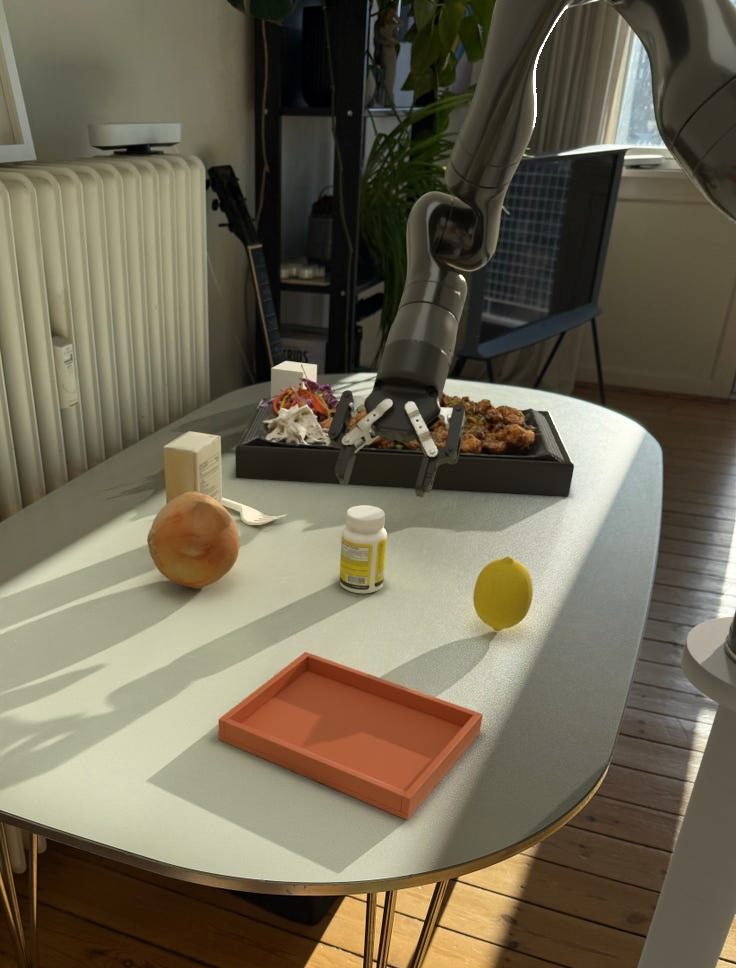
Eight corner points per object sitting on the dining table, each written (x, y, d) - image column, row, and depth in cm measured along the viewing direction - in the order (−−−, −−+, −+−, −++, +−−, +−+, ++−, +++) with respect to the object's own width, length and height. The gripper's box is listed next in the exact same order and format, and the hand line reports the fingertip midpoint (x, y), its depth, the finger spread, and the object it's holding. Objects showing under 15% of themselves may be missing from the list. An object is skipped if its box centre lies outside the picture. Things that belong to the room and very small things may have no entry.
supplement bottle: (371, 572, 103) (376, 501, 99) (390, 590, 100) (397, 517, 95) (331, 578, 102) (335, 507, 98) (350, 597, 98) (355, 523, 94)
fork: (184, 484, 127) (183, 471, 126) (290, 527, 114) (290, 512, 113) (165, 490, 125) (165, 477, 124) (271, 534, 112) (271, 520, 111)
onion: (134, 575, 102) (129, 489, 97) (214, 556, 107) (212, 473, 102) (173, 611, 95) (169, 520, 90) (257, 589, 100) (257, 501, 95)
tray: (479, 733, 77) (483, 713, 76) (407, 820, 68) (409, 799, 67) (304, 670, 86) (305, 651, 85) (218, 739, 76) (218, 719, 75)
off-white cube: (315, 399, 164) (317, 364, 161) (302, 407, 159) (303, 372, 156) (284, 394, 166) (285, 360, 163) (270, 403, 162) (271, 368, 159)
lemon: (477, 612, 95) (487, 541, 91) (531, 625, 93) (544, 552, 89) (461, 636, 91) (471, 562, 87) (518, 649, 89) (531, 574, 85)
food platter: (235, 477, 129) (235, 404, 124) (259, 425, 150) (260, 360, 145) (568, 496, 124) (582, 420, 119) (545, 439, 145) (556, 372, 140)
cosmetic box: (192, 526, 114) (189, 429, 108) (224, 533, 113) (223, 434, 106) (166, 546, 109) (161, 445, 103) (198, 553, 108) (195, 450, 101)
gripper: (350, 330, 102) (310, 462, 99) (479, 343, 98) (442, 482, 94) (361, 368, 109) (324, 493, 106) (482, 381, 104) (448, 512, 101)
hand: (380, 487), depth 100 cm, fingers open, 8 cm apart
